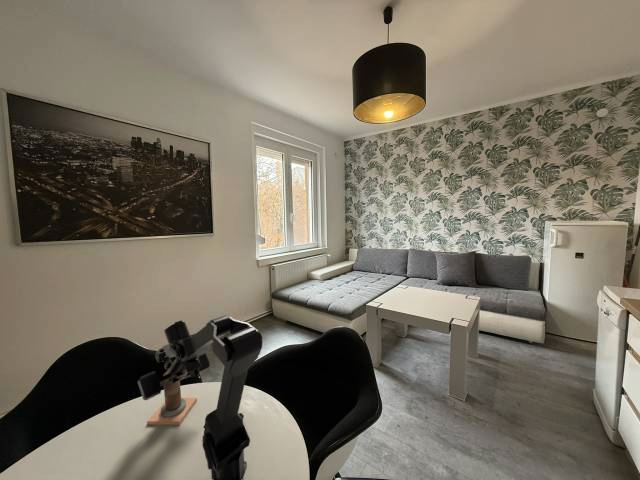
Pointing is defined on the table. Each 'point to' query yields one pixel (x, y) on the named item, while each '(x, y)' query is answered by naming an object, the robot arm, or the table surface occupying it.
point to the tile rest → (175, 420)
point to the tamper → (172, 400)
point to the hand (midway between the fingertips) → (170, 383)
